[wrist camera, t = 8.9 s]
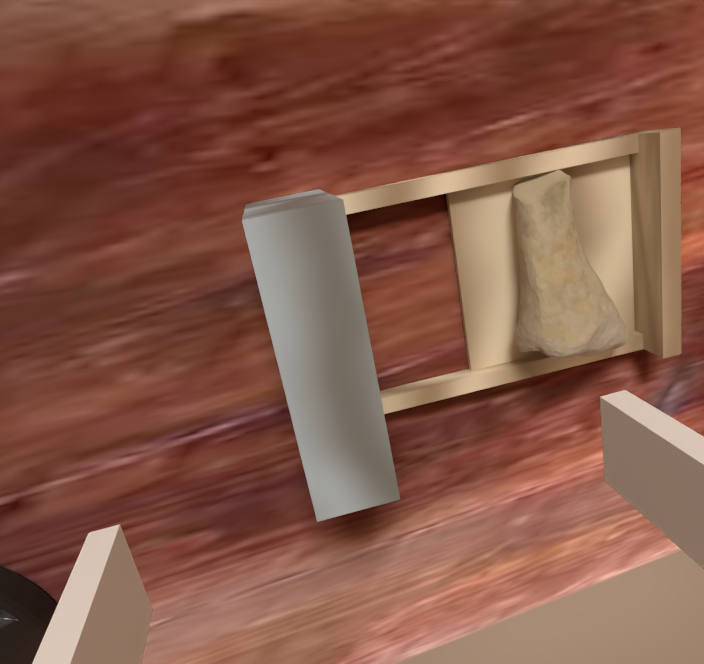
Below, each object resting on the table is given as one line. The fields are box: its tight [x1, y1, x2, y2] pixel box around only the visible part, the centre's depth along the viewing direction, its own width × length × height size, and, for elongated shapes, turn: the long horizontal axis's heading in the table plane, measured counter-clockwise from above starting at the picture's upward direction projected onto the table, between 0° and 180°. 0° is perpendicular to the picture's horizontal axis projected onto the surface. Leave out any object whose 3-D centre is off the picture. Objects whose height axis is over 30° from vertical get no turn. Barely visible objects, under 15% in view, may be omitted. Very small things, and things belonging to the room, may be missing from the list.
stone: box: [513, 170, 629, 359], centre depth 31 cm, size 11×6×5 cm, turn 28°
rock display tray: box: [242, 128, 681, 522], centre depth 29 cm, size 23×14×9 cm, turn 101°
